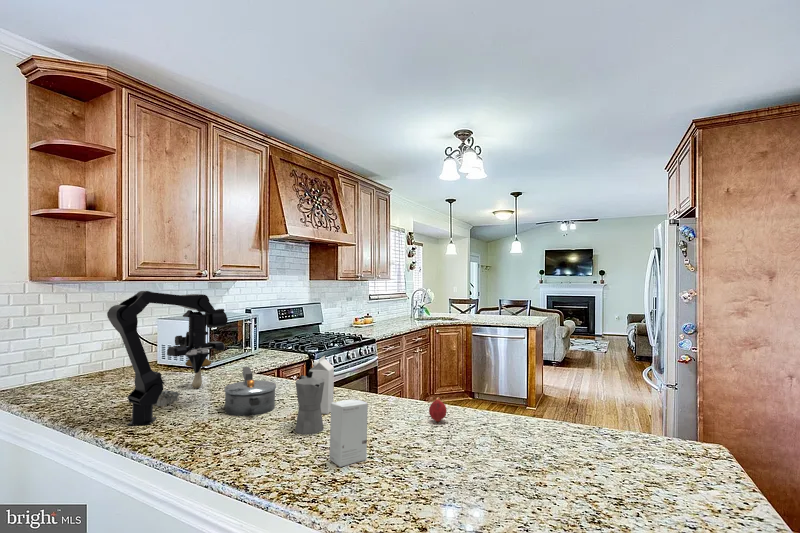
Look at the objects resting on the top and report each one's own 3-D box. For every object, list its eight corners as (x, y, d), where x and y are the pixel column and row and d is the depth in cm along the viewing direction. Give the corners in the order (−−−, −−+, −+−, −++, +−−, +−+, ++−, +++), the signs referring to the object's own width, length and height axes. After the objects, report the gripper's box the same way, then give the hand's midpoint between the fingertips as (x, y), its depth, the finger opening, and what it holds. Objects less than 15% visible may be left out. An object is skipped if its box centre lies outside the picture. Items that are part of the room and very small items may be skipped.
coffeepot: (332, 433, 133) (332, 373, 133) (302, 439, 127) (303, 377, 128) (312, 419, 146) (313, 365, 146) (285, 424, 140) (286, 368, 141)
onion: (445, 425, 140) (445, 400, 141) (427, 424, 142) (428, 399, 142) (447, 420, 146) (447, 395, 146) (430, 418, 147) (430, 394, 148)
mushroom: (197, 392, 179) (198, 355, 180) (179, 388, 185) (180, 353, 185) (215, 387, 187) (216, 352, 188) (198, 384, 193) (198, 350, 193)
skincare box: (339, 468, 108) (340, 407, 108) (328, 459, 113) (329, 402, 113) (368, 459, 113) (368, 402, 114) (356, 452, 118) (356, 397, 118)
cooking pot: (280, 415, 149) (280, 395, 150) (227, 422, 142) (227, 400, 142) (269, 397, 172) (269, 379, 172) (222, 402, 165) (223, 383, 165)
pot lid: (279, 392, 153) (279, 380, 153) (225, 397, 146) (225, 385, 146) (268, 375, 180) (268, 365, 180) (222, 378, 173) (222, 368, 173)
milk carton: (333, 408, 158) (334, 356, 159) (328, 414, 151) (329, 359, 152) (314, 407, 159) (315, 355, 159) (308, 413, 152) (309, 358, 152)
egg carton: (161, 407, 159) (161, 396, 159) (144, 406, 160) (144, 394, 160) (182, 399, 169) (182, 389, 169) (166, 398, 171) (166, 387, 171)
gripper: (208, 325, 169) (207, 366, 168) (159, 329, 154) (158, 374, 153) (225, 327, 163) (224, 369, 162) (176, 332, 147) (175, 378, 147)
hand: (196, 372), depth 156 cm, fingers closed
